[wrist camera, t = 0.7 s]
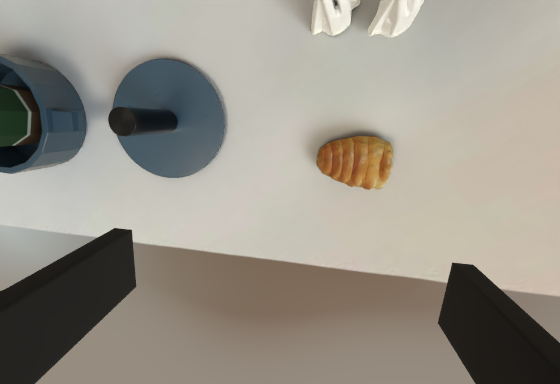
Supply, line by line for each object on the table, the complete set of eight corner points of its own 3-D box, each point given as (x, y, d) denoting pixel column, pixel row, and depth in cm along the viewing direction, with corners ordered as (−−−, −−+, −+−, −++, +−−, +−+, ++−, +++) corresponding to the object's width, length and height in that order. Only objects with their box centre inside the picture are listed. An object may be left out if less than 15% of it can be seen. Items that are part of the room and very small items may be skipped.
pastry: (313, 180, 39) (314, 186, 36) (319, 131, 38) (320, 131, 34) (383, 188, 38) (390, 194, 35) (392, 137, 37) (401, 139, 33)
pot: (-33, 56, 40) (-94, 45, 34) (100, 67, 39) (60, 57, 32) (-15, 158, 44) (-67, 164, 38) (107, 172, 42) (73, 180, 36)
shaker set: (417, 2, 33) (469, -55, 22) (410, 42, 34) (456, 6, 23) (314, -4, 34) (315, -60, 23) (310, 35, 35) (309, -2, 24)
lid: (114, 56, 38) (42, 32, 28) (228, 65, 37) (196, 43, 27) (121, 170, 42) (59, 186, 32) (223, 181, 41) (194, 202, 30)
